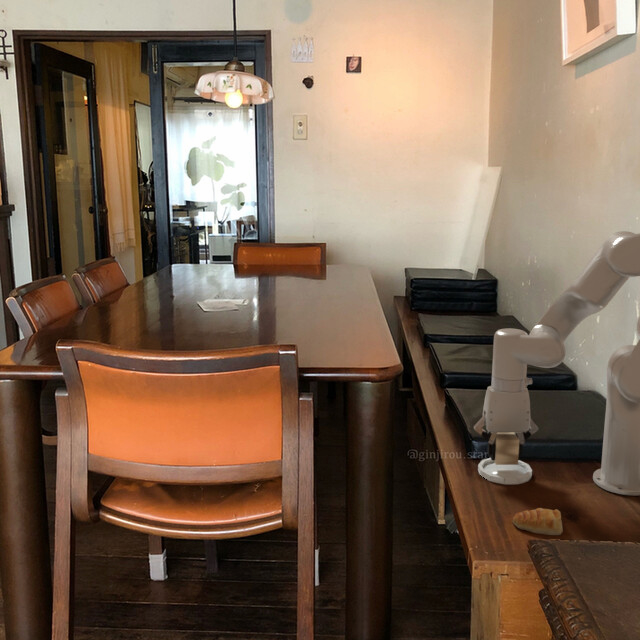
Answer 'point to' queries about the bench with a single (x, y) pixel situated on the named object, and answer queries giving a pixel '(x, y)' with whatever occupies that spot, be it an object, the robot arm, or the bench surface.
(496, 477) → the dish
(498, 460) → the maple block
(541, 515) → the pastry
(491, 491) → the bench surface
